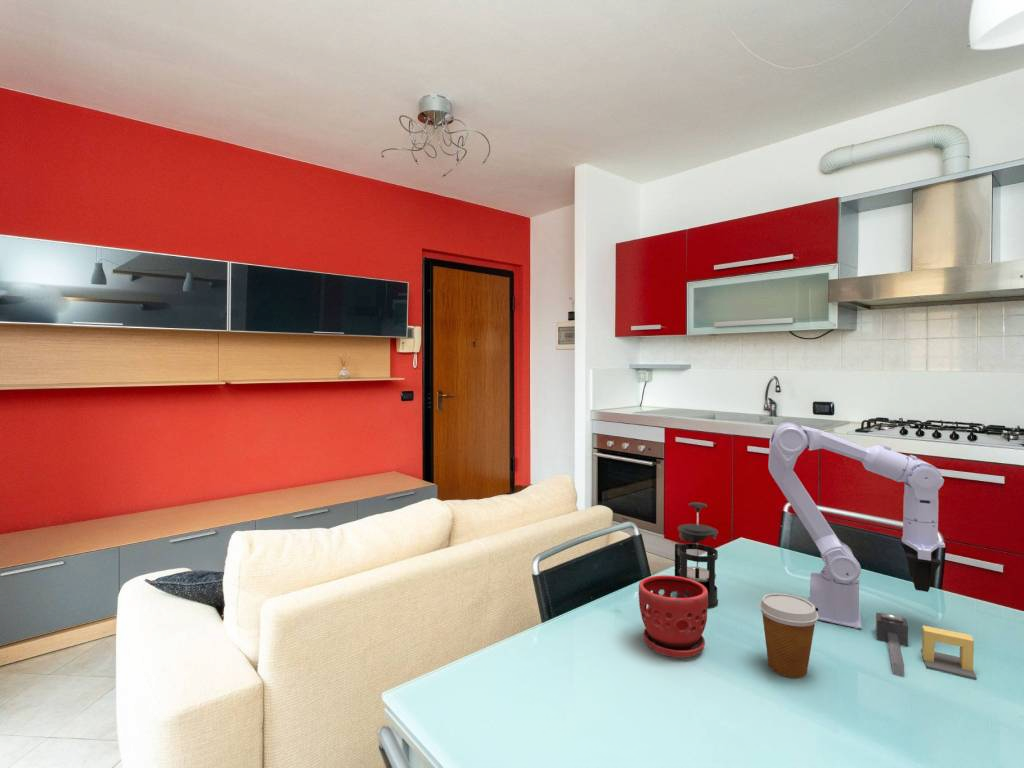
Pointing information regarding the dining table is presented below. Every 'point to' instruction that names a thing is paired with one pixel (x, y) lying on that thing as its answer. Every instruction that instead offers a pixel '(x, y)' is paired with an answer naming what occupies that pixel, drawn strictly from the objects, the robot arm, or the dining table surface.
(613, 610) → the dining table surface
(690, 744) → the dining table surface
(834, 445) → the robot arm
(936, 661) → the rubber mat
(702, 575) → the french press
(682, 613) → the plant pot
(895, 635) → the grey block with bar
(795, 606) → the disposable coffee cup
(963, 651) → the yellow pull handle
